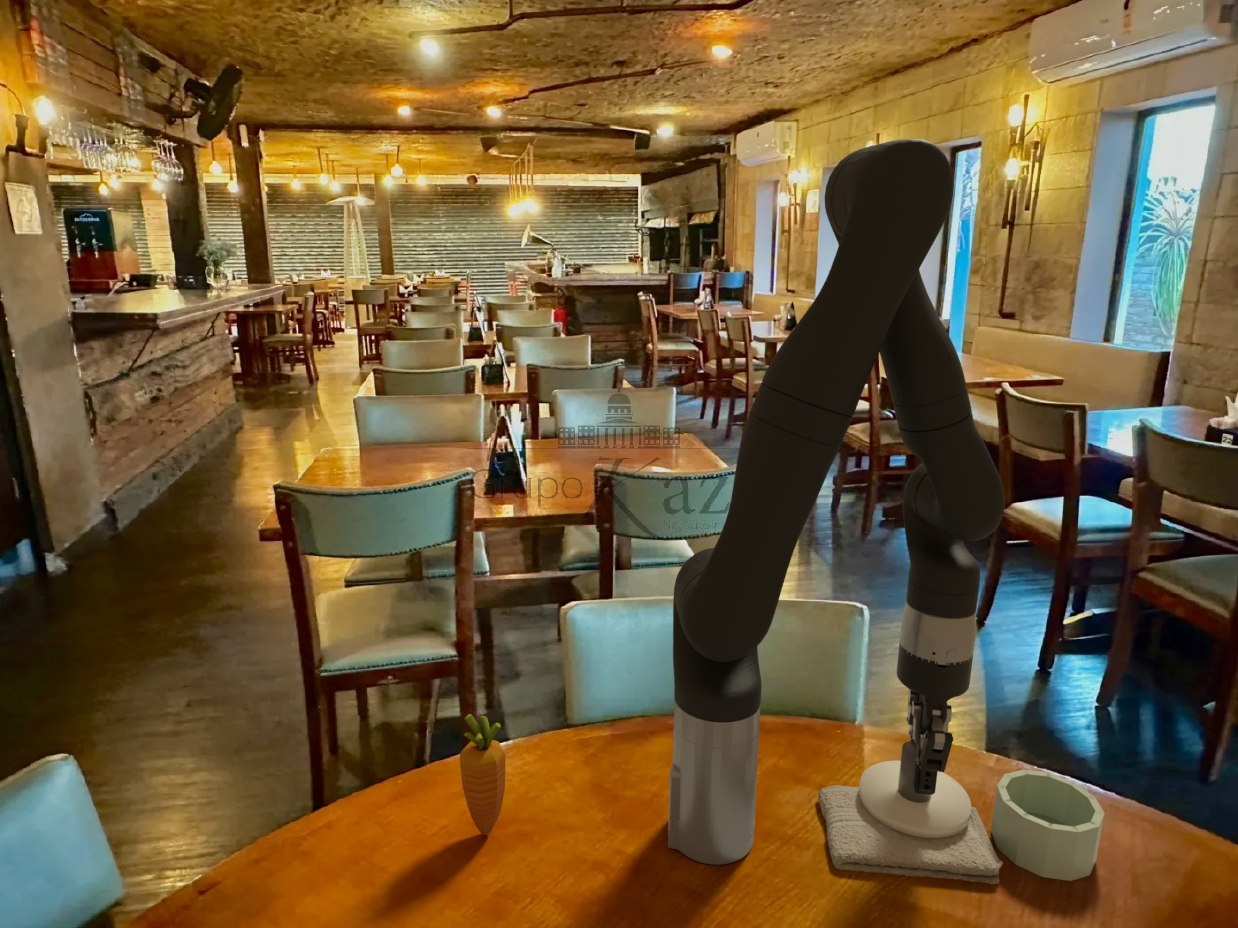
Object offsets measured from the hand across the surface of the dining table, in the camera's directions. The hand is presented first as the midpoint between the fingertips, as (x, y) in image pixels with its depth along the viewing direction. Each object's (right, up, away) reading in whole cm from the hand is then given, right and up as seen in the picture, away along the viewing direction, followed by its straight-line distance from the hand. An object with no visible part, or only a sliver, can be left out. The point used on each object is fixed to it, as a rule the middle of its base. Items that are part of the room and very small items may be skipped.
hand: (920, 779), depth 90 cm
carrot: (-49, -6, -1) cm, 50 cm away
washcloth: (-2, -7, -1) cm, 7 cm away
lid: (0, -3, +1) cm, 3 cm away
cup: (+12, -6, -3) cm, 14 cm away
